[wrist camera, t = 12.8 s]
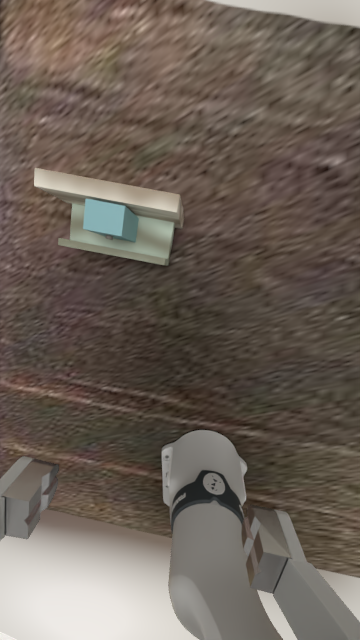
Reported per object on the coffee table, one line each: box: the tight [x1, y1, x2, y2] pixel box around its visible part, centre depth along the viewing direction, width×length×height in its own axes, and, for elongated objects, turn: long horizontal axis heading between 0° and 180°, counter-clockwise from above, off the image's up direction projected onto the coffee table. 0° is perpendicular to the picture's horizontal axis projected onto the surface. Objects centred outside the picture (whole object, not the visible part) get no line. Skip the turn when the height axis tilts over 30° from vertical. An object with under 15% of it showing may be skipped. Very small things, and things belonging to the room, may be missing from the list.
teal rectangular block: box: [83, 199, 139, 243], centre depth 31 cm, size 4×5×7 cm
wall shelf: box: [34, 168, 184, 266], centre depth 34 cm, size 8×18×12 cm, turn 79°
